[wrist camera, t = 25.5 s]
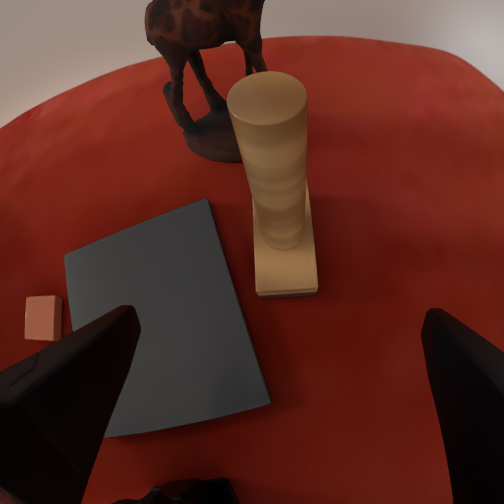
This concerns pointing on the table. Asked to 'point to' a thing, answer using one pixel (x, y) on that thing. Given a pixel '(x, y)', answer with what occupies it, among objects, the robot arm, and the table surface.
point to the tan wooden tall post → (276, 180)
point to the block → (43, 318)
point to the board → (171, 320)
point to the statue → (187, 48)
